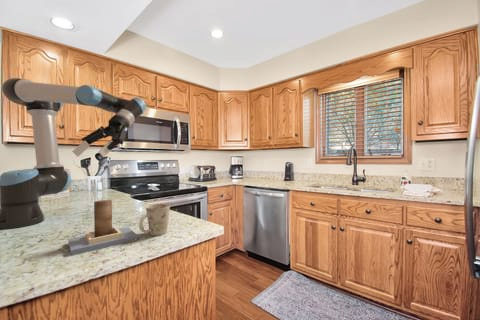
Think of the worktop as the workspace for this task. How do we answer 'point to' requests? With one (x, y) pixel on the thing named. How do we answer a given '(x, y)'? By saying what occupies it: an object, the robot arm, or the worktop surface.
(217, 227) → the worktop surface
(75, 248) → the board
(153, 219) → the mug
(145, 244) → the worktop surface
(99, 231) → the post
